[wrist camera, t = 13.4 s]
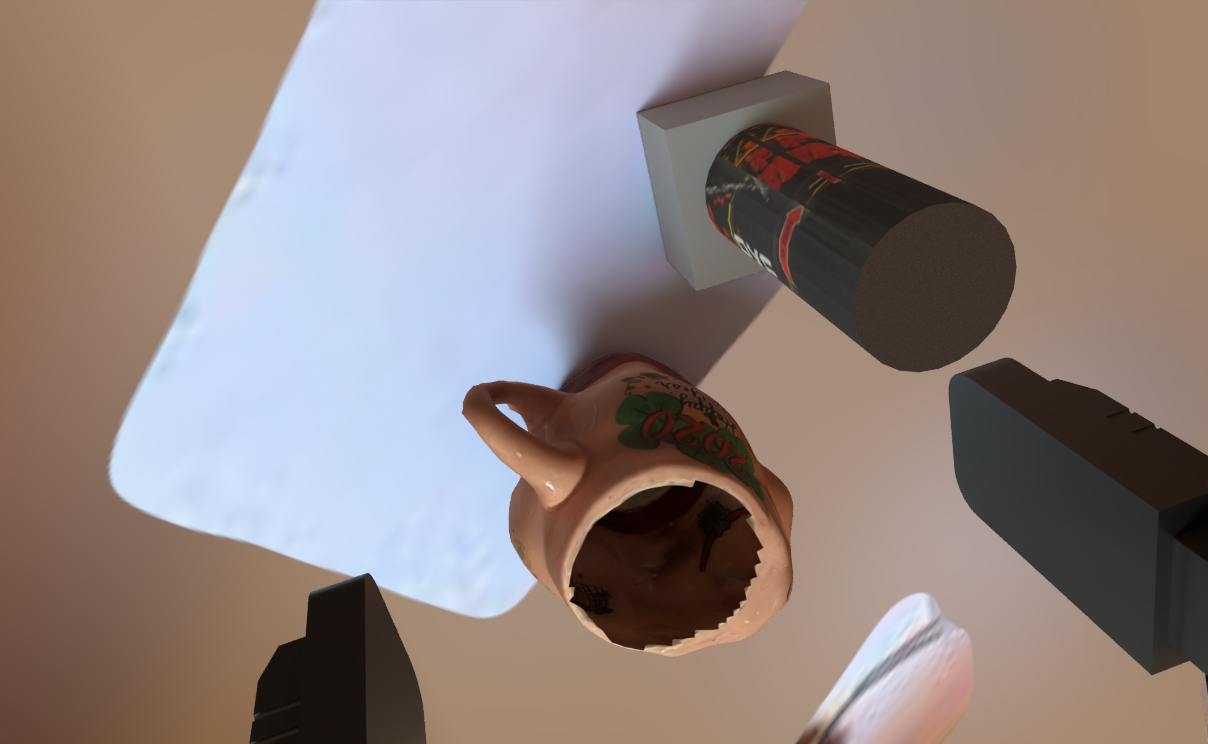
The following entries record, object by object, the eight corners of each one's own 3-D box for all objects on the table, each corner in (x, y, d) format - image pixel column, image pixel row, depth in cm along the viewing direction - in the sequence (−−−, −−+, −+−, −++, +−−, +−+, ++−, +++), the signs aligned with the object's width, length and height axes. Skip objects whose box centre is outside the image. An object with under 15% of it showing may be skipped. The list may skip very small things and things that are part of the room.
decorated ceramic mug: (383, 434, 51) (389, 591, 38) (498, 243, 48) (545, 347, 36) (673, 561, 59) (756, 726, 46) (787, 404, 56) (907, 535, 44)
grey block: (636, 112, 47) (665, 130, 42) (785, 70, 48) (829, 83, 43) (667, 260, 50) (696, 291, 46) (805, 219, 51) (847, 244, 47)
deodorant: (846, 164, 45) (1049, 257, 32) (774, 268, 46) (940, 399, 33) (753, 97, 43) (931, 167, 29) (680, 209, 44) (818, 324, 31)
